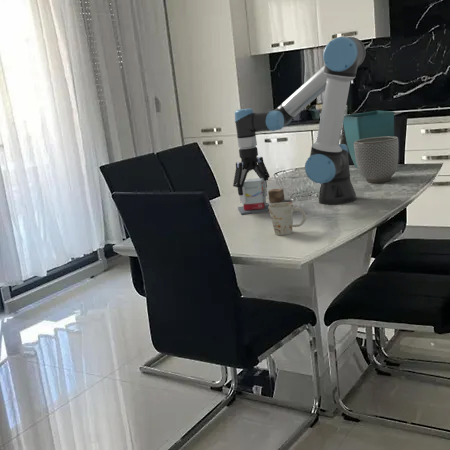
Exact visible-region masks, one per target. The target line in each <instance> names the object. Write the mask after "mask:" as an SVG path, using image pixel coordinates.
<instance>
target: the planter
mask: <svg viewBox="0 0 450 450" xmlns="http://www.w3.org/2000/svg"><path fill="white" fill-rule="evenodd" d="M354 150H355V157H356V163H357V168H358V169H357V170H358V173H359V175H360V176H361V177H362V178H364V179H365V181H366V182H367V183H370V184H371V183H372V184H375V183H376V184H378V183H379V184H380V183H385V182H389V181H391V179H392V177H393V176H394V175H395V174H396V172H397V169H398V166H399V137H398V136H395V135H394V136H383V137H372V138H365V139H360V140H356V141H354Z"/></svg>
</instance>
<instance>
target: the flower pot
mask: <svg viewBox="0 0 450 450" xmlns="http://www.w3.org/2000/svg"><path fill="white" fill-rule="evenodd" d="M342 126H343V130H344V135H345V140H346V145H347V148H348V154H349V156H350V157H351V160H352V162H353V164H354V165H353V166H354V167H355V169H356V168H357V163H356V157H355V150H354V141H356V140H360V139H365V138H372V137H383V136H395V111H390V110H372V111H366V112H359V113H353V114H348V115H346V114H345V115H344V120H343V125H342ZM356 170H358V168H357V169H356Z"/></svg>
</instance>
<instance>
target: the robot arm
mask: <svg viewBox="0 0 450 450" xmlns="http://www.w3.org/2000/svg"><path fill="white" fill-rule="evenodd" d="M366 53H367V52H366V46H365V45H364V43H363V42H362V41H361V40H360V39H359V38H358V37H354V36H339V37H336V38H334V39H331V40H330V41H329V42H328V43H327V44H326V46H325V47H324V50H323V54H322V59H323V62H324V65H323V66H321V68H319V69H318V71H316V72H315V73H314V74H312V76H311V77H309V78H308V79H307V80H306V81H305V82H304V83H303V84H302V85H300V87H298V89H296V90H295V91H294V92H293V93H292V94H291V95H289V97H287V98H286V99H285V100H284V101H283V102H282V103H281V104H280V105H278V106H277V107H276V108H274V109H273V110H269V111H263V112H254V110H253V108H242V109H236V111H234V122H235V123H234V124H235V127H236V137H237V146H238V148H239V149H238V154H239V155H238V156H239V158H240V159H241V160H240V161H239V162H235V172H234V179H233V182H232V183H233V184H232V186H233V187H234V188H237V193H238V196H239V201H240V204H242V203H246V195H245V187H243V184H244V182H245V179H246V178H247V176H248V173H250V172H251V171H254V172H255V174H256V175H257V177H258V178H264V186H265V196H266V197H268V190H267V189H268V185H267V183H268V182H267V181H269V178H270V177H271V176H270V173H269V171H268V169H267V167H266V164H265V161H264V158H263V156H259V152H258V147H257V146H258V142H257V135H256V134H257V133H258V132H260V133H261V132H270V131H271V132H275V131H280V130H282V129H283V127H286V126H288V125H289V124H290V123H291V122H292V120H293V119H294V118H295V117H296V116H298V114H299V113H301V112H302V111H303V110H304V109H305V108H306V107H307V106H309V105H310V104H311V103H312V102H314V101H315V99H317V98H318V97H319V96H320V95H321V94H322V93H324V95H323V101H322V105H321V106H322V108H321V113H320V120H319V125H318V131H317V137H316V141H315V142H314V143H313V144H311V147H310V153H309V157H308V158H307V160H306V161H305V163H304V164H305V165H304V171H305V174H306V176H307V178H309V180H311V182H313V183H316V184H320V189H319V192H318V193H319V194H318V203H320V204H324V205H340V204H345V203H351V202H354V201H356V200H357V193H356V191H355V188H354V186H353V184H352V181H351V172H350V171H351V170H350V163H349V161H350V159H349V149H348V146H347V144H345V143H342V144H340V141H341V137H342V136H341V135H342V131H343V130H342V129H343V126H344V125H343V120H344V116H345V115H346V108H347V102H348V96H349V91H350V85H351V82H352V81H353V80H354V79H355V78H356V75H357V70H358V67H360V65H361V64H362V63H363V62H364V60H365V57H366Z"/></svg>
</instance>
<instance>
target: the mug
mask: <svg viewBox="0 0 450 450" xmlns="http://www.w3.org/2000/svg"><path fill="white" fill-rule="evenodd" d="M294 212H299V213H301V215H302V219H301V221H300V223H298V224H297V223H296V224H293V221H294V220H293V219H294V218H293V216H294V214H293V213H294ZM268 213H269V215H270V219H271V223H272V224H271V225H272V228H273V231H274V235H277V236H286V235H291V234H292V233H293V228H298V227H301V226H303V225H304V224H305V222H306V220H307V213H306V211H305V210H304V209H303V208H302V207H297V206H296V207H294V204H293V202H290V201H284V202H283V201H281V202H273V203H270V204H269V211H268Z"/></svg>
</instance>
